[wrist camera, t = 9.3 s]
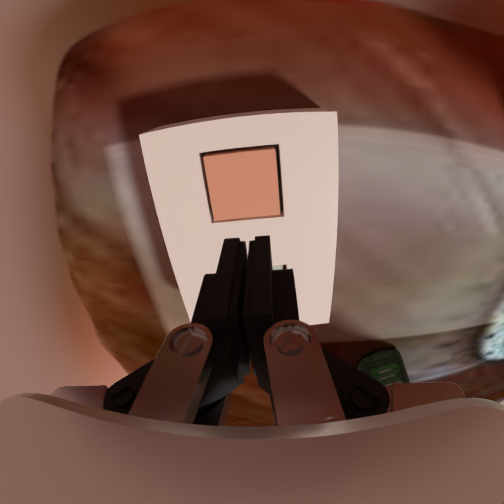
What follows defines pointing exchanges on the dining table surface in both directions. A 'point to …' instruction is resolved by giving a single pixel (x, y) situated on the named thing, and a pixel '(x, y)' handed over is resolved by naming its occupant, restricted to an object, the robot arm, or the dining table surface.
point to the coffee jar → (385, 367)
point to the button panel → (277, 226)
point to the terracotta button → (243, 182)
